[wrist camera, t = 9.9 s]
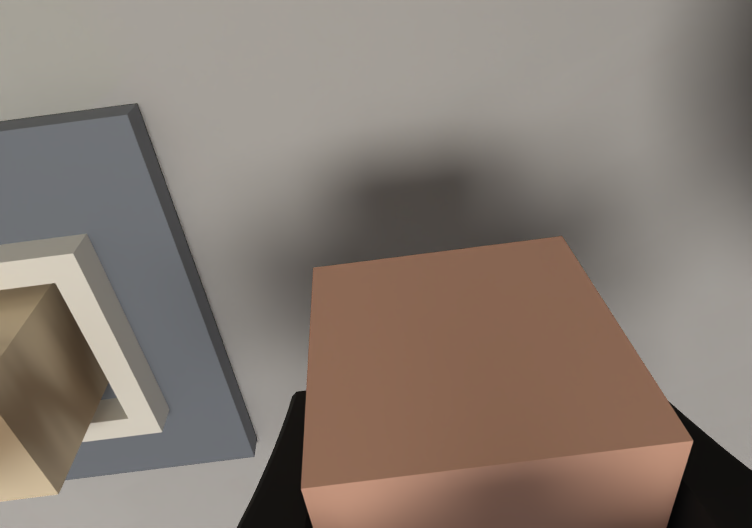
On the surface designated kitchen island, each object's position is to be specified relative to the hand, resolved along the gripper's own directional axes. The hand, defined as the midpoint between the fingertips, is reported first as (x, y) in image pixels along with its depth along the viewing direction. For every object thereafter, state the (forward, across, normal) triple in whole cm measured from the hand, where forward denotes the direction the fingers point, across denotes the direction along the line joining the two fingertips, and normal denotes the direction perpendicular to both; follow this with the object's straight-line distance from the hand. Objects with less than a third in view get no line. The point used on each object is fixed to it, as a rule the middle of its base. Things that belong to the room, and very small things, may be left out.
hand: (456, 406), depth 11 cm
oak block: (+9, +15, +4) cm, 18 cm away
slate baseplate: (+10, +15, +4) cm, 18 cm away
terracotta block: (+2, 0, 0) cm, 2 cm away
